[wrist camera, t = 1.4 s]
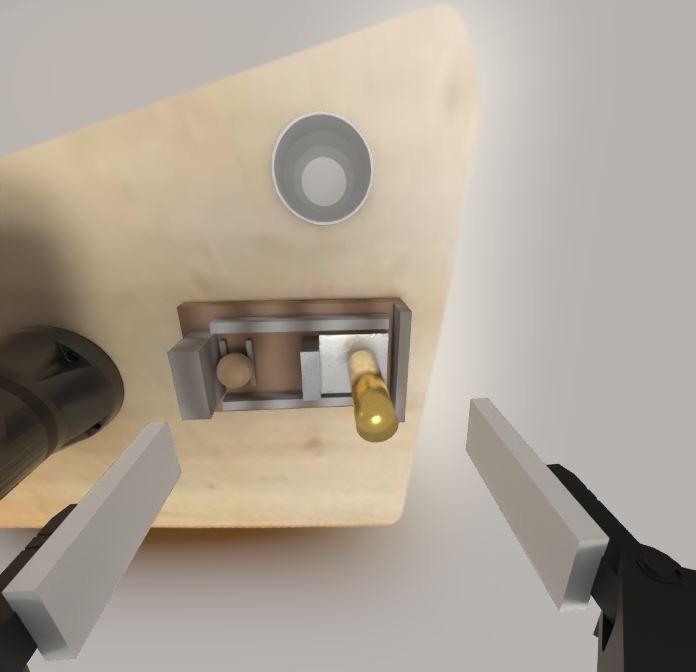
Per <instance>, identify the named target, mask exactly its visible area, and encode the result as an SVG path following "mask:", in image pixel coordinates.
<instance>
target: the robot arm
mask: <svg viewBox="0 0 696 672" xmlns="http://www.w3.org/2000/svg"><path fill="white" fill-rule="evenodd" d="M122 401H123V384H122V380H121V377H120V375H119V373H118V371H117V369H116V367H115V365H114V364H113V362H112V361H111V360H110V358H109V357H108V356H107V355H106V354H105V353H104V352H103V351H102V350H101V349H100V348H98V347H97V346H96V345H95V344H93V343H92V342H90V341H89V340H87V339H85V338H83V337H82V336H80V335H77V334H75V333H73V332H70V331H67V330H63V329H60V328H54V327H45V326H38V327H29V328H24V329H21V330H18V331H15V332H13V333H10V334H8V335H5V336H2V337H0V500H1V499H2V498H4V497H5V496H6V495H7V494H8V493H9V492H10V491H11V490H12V489H13V488H15V487H16V486H17V485H18V484H19V483H20V482H21V481H22V480H23V479H24V478H26V477H27V476H28V475H29V474H30V473H31V472H32V471H33V470H34V469H35V468H37V467H38V466H39V465H40V464H41V463H42V462H43V461H44V460H46V459H47V458H48V457H49V456H50V455H52V454H54V453H56V452H58V451H60V450H63V449H65V448H67V447H69V446H71V445H74V444H76V443H78V442H80V441H82V440H85V439H87V438H89V437H91V436H93V435H94V434H96V433H97V432H99V431H100V430H101V429H103V428H104V427H105V426H106V425H107V424H108V423H109V422H110V421H111V420H112V419H113V418H114V417H115V416H116V414H117V413H118V411H119V409H120V407H121V405H122ZM466 451H467V453H468V455H469V456H470V458H471V460H472V462H473V463H474V465H475V467H476V468H477V470H478V472H479V474H480V475H481V477H482V479H483V480H484V482H485V484H486V486H487V487H488V489H489V491H490V493H491V494H492V496H493V498H494V499H495V501H496V503H497V505H498V506H499V508H500V510H501V511H502V513H503V515H504V517H505V518H506V520H507V522H508V524H509V525H510V527H511V529H512V530H513V532H514V534H515V536H516V537H517V539H518V541H519V542H520V544H521V546H522V547H523V549H524V551H525V553H526V555H527V556H528V558H529V560H530V561H531V563H532V565H533V567H534V568H535V570H536V572H537V574H538V575H539V577H540V579H541V581H542V582H543V584H544V586H545V587H546V589H547V591H548V592H549V594H550V596H551V598H552V600H553V601H554V603H555V604H556V606H557V608H558V610H559V611H560V612H561V611H572V610H581V609H587V606H588V602H589V599H590V596H591V595H592V597H593V598H594V600H595V601H596V602H597V604H598V605H599V607H600V608H601V609H602V611H601V614H600V617H599V619H598V622H597V625H596V628H595V631H594V635H595V636H596V637H599V640H598V664H597V672H696V570H691V569H687V568H683V567H681V566H680V565H679V564H678V563H677V562H676V561H674V560H673V559H671V558H670V557H669V556H668V555H666V554H665V553H663V552H660V551H659V550H657V549H655V548H653V547H650V546H646V545H643V544H640V543H639V542H638V541H637V540H636V539H635V538H634V537H633V536H632V535H631V534H630V533H629V532H628V530H626V528H625V527H624V526H623V525H622V524H621V523H620V522H619V521H618V520H617V519H616V518H615V517H614V516H613V515H612V514H611V512H610V511H609V510H608V509H607V508H606V507H605V506H604V505H603V504H602V503H601V502H600V501H598V500H597V498H596V497H595V495H594V494H593V493H592V492H591V491H590V490H587V488H586V486H585V485H584V484H583V483H582V482H581V481H580V480H579V478H577V476H576V475H575V474H573V473H572V472H570V471H569V470H567V469H565V468H564V467H563V466H561V465H560V464H552V465H546V464H545V463H544V462H543V461H542V460H541V459H540V458H539V456H538V455H537V454H536V453H535V452H534V451H533V449H532V448H531V447H530V446H529V445H528V444H527V443H526V441H525V440H524V439H523V438H522V437H521V436H520V435H519V433H518V432H517V431H516V430H515V429H514V428H513V426H512V425H511V424H510V423H509V422H508V421H507V419H506V418H505V417H504V416H503V415H502V414H501V413H500V411H499V410H498V409H497V408H496V407H495V405H494V404H493V403H492V402H491V401H490V400H489V399H488V398H478V399H471V402H470V412H469V423H468V433H467V443H466ZM181 473H182V472H181V468H180V465H179V461H178V458H177V454H176V451H175V448H174V444H173V441H172V437H171V434H170V431H169V427H168V424H167V421H165V422H152V423H148V424H147V425H146V426H145V427H144V429H143V430H142V431H141V432H140V433H139V434H138V435H137V437H136V438H135V439H134V440H133V441H132V442H131V444H130V445H129V446H128V447H127V448H126V449H125V450H124V452H123V453H122V454H121V455H120V456H119V457H118V459H117V460H116V461H115V462H114V463H113V464H112V466H111V467H110V468H109V469H108V470H107V471H106V472H105V474H104V475H103V476H102V477H101V478H100V479H99V481H98V482H97V483H96V484H95V485H94V486H93V487H92V489H91V490H90V491H89V492H88V493H87V494H86V496H85V497H84V498H83V499H82V500H81V501H80V502H79V504H70V505H69V506H67V507H66V508H65V509H63V510H62V511H61V512H59V513H58V514H57V515H55V516H54V517H53V518H52V519H51V520H50V521H49V522H48V523H47V524H46V525H45V526H44V527H43V528H42V530H41V531H40V532H39V533H38V534H37V537H34V538H33V539H32V541H31V542H30V543H29V544H28V545H27V546H26V547H25V550H24V551H22V552H21V553H20V554H19V555H18V556H17V557H16V558H15V559H14V560H13V562H11V564H10V565H9V566H8V567H7V568H6V569H5V570H4V571H3V572H2V573H1V575H0V672H30V671H29V668H28V666H27V662H28V661H29V659H30V658H31V656H32V655H33V654H34V652H35V650H36V649H37V648H38V650H39V651H40V653H41V654H42V656H43V657H44V659H45V661H54V660H63V659H74V658H76V657H77V655H78V653H79V652H80V650H81V648H82V646H83V645H84V643H85V641H86V639H87V638H88V636H89V634H90V632H91V630H92V629H93V627H94V625H95V624H96V622H97V620H98V618H99V617H100V615H101V613H102V611H103V610H104V608H105V606H106V604H107V603H108V601H109V599H110V597H111V595H112V594H113V592H114V590H115V588H116V587H117V585H118V583H119V581H120V580H121V578H122V576H123V574H124V573H125V571H126V569H127V567H128V566H129V564H130V562H131V560H132V559H133V557H134V555H135V553H136V552H137V550H138V548H139V546H140V544H141V543H142V541H143V539H144V538H145V536H146V534H147V532H148V531H149V529H150V527H151V525H152V524H153V522H154V520H155V518H156V517H157V515H158V513H159V511H160V510H161V508H162V506H163V504H164V503H165V501H166V499H167V497H168V496H169V494H170V492H171V490H172V489H173V487H174V485H175V483H176V482H177V480H178V478H179V476H180V475H181Z"/></svg>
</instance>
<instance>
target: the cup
mask: <svg viewBox="0 0 696 672" xmlns="http://www.w3.org/2000/svg"><path fill="white" fill-rule="evenodd" d="M373 175H374V166H373V158H372V154H371V150H370V147H369V145H368V143H367V141H366V139H365V137H364V136H363V134H362V133H361V132H360V130H359V129H358V128H357V127H356V126H355V125H354V124H353V123H352V122H350V121H349V120H348V119H346V118H344V117H342V116H340V115H338V114H335V113H331V112H325V111H317V112H310V113H307V114H304V115H302V116H300V117H298V118H296V119H295V120H293V121H292V122H291V123H290V124H289V125H288V126H287V127H286V128H285V129H284V130H283V131H282V133H281V134H280V136H279V138H278V140H277V142H276V144H275V147H274V151H273V155H272V177H273V182H274V185H275V188H276V191H277V193H278V195H279V197H280V199H281V200H282V202H283V203H284V204H285V206H286V207H287V208H288V209H289V210H290V211H291V212H292V213H293V214H295V215H296V216H297V217H299V218H301V219H302V220H304V221H307V222H310V223H313V224H318V225H330V224H336V223H339V222H342V221H344V220H346V219H348V218H349V217H351V216H352V215H353V214H355V213H356V212H357V211H358V210H359V209H360V208H361V206H362V205H363V204H364V202H365V200H366V199H367V197H368V195H369V192H370V190H371V186H372V182H373Z"/></svg>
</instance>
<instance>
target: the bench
mask: <svg viewBox="0 0 696 672" xmlns="http://www.w3.org/2000/svg"><path fill="white" fill-rule="evenodd" d="M177 310H178V315H179V320H180V325H181V330H182V335H183V339H182V340H181V341H180V342H178V343H177V344H176V345H175V346H174V347H173V348H172V349H170V350H169V351H168V357H169V362H170V366H171V371H172V375H173V380H174V384H175V389H176V394H177V398H178V403H179V407H180V412H181V417H182V420H195V419H211V417H212V415H213V414H214V412H222V411H246V410H271V409H295V408H319V407H344V406H353V400H352V394H351V392H349V393H323V394H321V400H311V401H303V388H302V372H301V356H300V351H301V345H302V340H303V338H304V337H319V331H331V330H368V329H386V330H387V332H388V358H387V382H386V387H387V390H388V393H389V395H390V398H391V401H392V404H393V407H394V409H395V412H396V415H397V418H398V422H405V407H406V392H407V377H408V361H409V346H410V331H411V316H412V311H411V310H410V309H409V308H408V307H407V306H406V305H405V303H404V302H403V301H402V300H401V299H400V298H378V299H331V300H285V301H238V302H191V303H183V304H181V305H180V306H178V307H177ZM231 353H240V354H243V355H245V356H246V357H248V358H249V359H250V361H251V363H252V365H253V374H252V377H251V379H250V380H249V381H248V382H247V383H246V384H245V385H243V386H241V387H237V388H231V387H227V386H225V385H224V384H222V383H221V382H220V381H219V379H218V377H217V373H216V369H217V365H218V363H219V361H220V360H221V359H222V358H223V357H224V356H226V355H228V354H231Z"/></svg>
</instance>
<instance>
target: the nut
mask: <svg viewBox="0 0 696 672" xmlns="http://www.w3.org/2000/svg"><path fill="white" fill-rule="evenodd" d="M216 373H217V377H218V379H219V381H220V382H221V383H222V384H224V385H225V386H227V387H231V388H237V387H241V386H243V385H245V384H246V383H247V382H248V381H249V380H250V379H251V377H252V374H253V365H252V363H251V361H250V359H249V358H248V357H246V356H245V355H243V354H240V353H231V354H228V355H226V356H224V357H223V358H222V359H221V360H220V361H219V363H218V365H217V369H216Z"/></svg>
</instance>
